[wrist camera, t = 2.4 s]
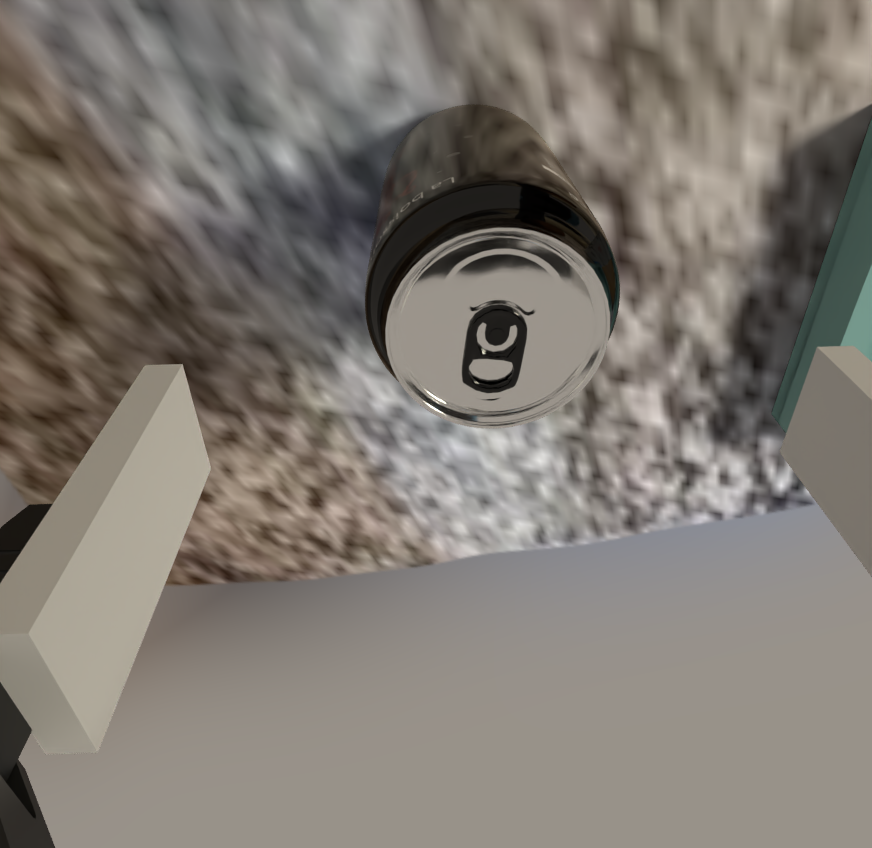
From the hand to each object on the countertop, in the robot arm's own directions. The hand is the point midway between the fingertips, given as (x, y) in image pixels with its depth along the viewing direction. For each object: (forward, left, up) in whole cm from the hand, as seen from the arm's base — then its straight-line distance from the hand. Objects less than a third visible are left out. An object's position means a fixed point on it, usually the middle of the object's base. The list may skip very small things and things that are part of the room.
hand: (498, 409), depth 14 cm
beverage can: (0, 0, -15) cm, 15 cm away
